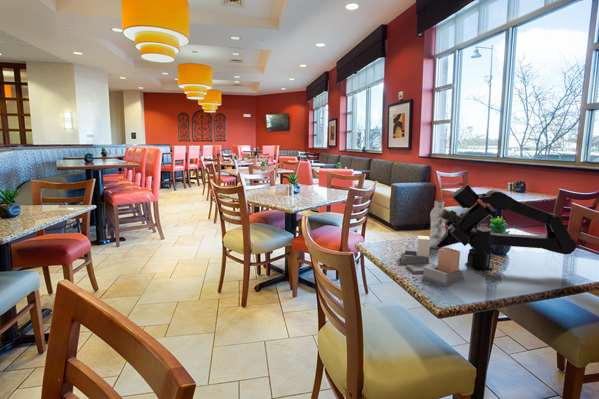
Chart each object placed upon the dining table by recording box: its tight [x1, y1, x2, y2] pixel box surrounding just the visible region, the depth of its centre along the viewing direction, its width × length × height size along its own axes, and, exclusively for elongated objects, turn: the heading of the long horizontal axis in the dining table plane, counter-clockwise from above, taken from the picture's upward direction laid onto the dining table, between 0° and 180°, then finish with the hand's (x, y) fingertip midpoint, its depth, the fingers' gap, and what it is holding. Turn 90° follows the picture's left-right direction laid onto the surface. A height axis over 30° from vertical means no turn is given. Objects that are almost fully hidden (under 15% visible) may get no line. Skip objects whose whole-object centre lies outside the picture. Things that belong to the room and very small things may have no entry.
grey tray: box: [400, 246, 465, 288], centre depth 119 cm, size 13×30×4 cm, turn 9°
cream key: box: [416, 235, 431, 257], centre depth 127 cm, size 4×5×8 cm
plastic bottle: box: [429, 200, 446, 250], centre depth 144 cm, size 6×7×20 cm
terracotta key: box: [436, 247, 461, 275], centre depth 111 cm, size 4×5×8 cm
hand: (437, 246), depth 125 cm, fingers closed
